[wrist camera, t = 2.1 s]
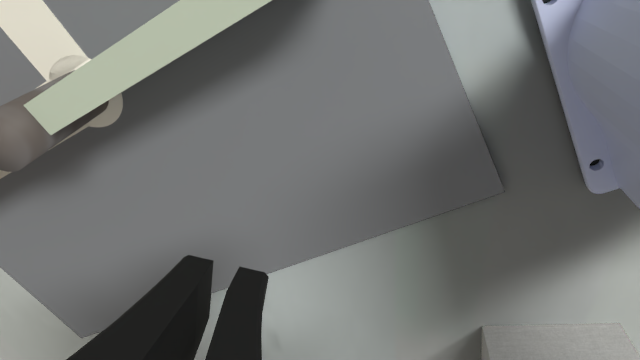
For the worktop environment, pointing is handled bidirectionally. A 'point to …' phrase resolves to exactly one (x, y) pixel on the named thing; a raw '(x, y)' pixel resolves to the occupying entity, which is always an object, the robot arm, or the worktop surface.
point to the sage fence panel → (136, 58)
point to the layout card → (232, 146)
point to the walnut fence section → (31, 130)
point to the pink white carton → (557, 342)
